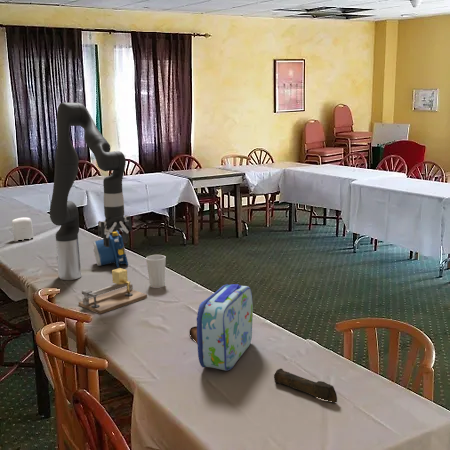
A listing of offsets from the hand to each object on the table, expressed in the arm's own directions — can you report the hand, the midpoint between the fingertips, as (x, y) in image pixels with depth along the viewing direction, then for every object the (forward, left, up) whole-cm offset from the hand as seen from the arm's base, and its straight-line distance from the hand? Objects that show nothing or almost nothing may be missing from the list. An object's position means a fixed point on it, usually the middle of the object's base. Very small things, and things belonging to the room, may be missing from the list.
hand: (116, 244), depth 231 cm
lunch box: (+70, -12, -21) cm, 74 cm away
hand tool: (+101, -14, -21) cm, 104 cm away
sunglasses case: (+58, -4, -21) cm, 62 cm away
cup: (+4, +17, -21) cm, 27 cm away
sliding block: (+3, 0, -19) cm, 19 cm away
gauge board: (+5, -6, -20) cm, 22 cm away
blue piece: (-36, +23, -21) cm, 48 cm away
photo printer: (-111, +20, -21) cm, 115 cm away
